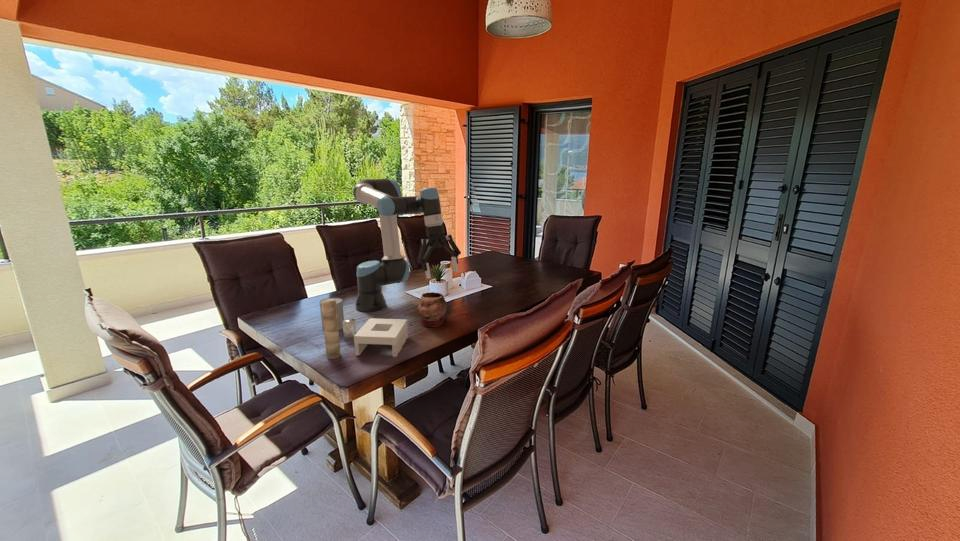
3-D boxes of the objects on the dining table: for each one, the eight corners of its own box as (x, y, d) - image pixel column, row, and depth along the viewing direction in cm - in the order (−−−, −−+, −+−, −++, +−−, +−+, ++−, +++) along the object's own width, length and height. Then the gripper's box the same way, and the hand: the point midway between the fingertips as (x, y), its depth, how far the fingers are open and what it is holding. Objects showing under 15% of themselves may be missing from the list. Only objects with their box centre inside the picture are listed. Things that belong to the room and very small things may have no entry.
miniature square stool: (371, 335, 164) (369, 318, 162) (407, 337, 163) (407, 319, 161) (355, 355, 146) (353, 336, 144) (396, 356, 145) (395, 337, 143)
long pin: (330, 352, 148) (325, 298, 143) (342, 353, 148) (338, 299, 142) (324, 358, 143) (318, 303, 138) (337, 359, 143) (332, 303, 138)
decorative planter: (428, 313, 189) (427, 286, 186) (452, 315, 187) (451, 288, 183) (413, 329, 170) (412, 300, 167) (439, 332, 168) (439, 302, 165)
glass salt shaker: (346, 335, 164) (345, 318, 162) (358, 335, 163) (356, 318, 161) (341, 340, 159) (340, 322, 157) (353, 340, 159) (352, 322, 157)
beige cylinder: (349, 324, 175) (347, 299, 172) (335, 332, 167) (332, 305, 163) (332, 321, 178) (329, 296, 175) (317, 329, 170) (314, 303, 166)
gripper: (411, 229, 150) (420, 281, 153) (463, 221, 164) (471, 269, 167) (403, 230, 156) (412, 280, 159) (454, 222, 170) (461, 268, 173)
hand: (442, 275), depth 163 cm, fingers open, 13 cm apart
